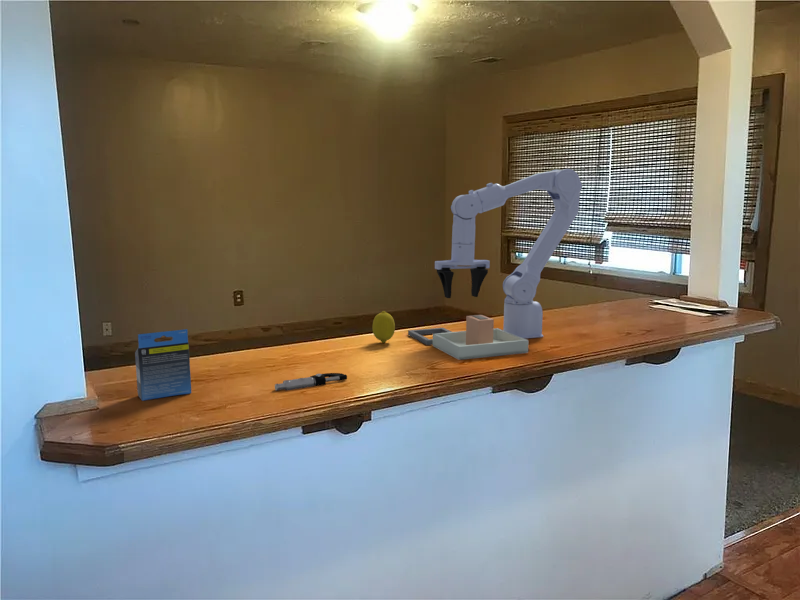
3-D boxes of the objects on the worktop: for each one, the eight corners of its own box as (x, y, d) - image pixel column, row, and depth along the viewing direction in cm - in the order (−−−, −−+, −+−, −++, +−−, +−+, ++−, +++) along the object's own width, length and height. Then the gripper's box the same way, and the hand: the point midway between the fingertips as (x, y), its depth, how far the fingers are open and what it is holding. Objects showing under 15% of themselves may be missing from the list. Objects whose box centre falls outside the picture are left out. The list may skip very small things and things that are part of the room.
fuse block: (480, 343, 161) (481, 314, 160) (492, 348, 156) (493, 318, 155) (465, 344, 160) (466, 315, 159) (477, 350, 154) (478, 320, 153)
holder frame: (442, 332, 176) (443, 327, 176) (463, 341, 165) (463, 337, 165) (408, 334, 172) (408, 330, 172) (427, 345, 161) (427, 340, 161)
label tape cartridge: (187, 388, 126) (183, 324, 124) (191, 394, 123) (188, 328, 121) (137, 395, 122) (133, 329, 120) (141, 401, 118) (136, 334, 116)
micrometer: (336, 374, 138) (336, 362, 137) (350, 383, 132) (350, 370, 131) (266, 384, 131) (265, 372, 130) (277, 394, 124) (277, 381, 124)
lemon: (368, 343, 162) (368, 311, 161) (379, 339, 167) (379, 308, 166) (388, 346, 160) (388, 313, 158) (398, 341, 165) (399, 310, 163)
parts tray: (497, 339, 167) (497, 328, 167) (528, 352, 155) (528, 340, 154) (432, 345, 161) (432, 333, 160) (458, 359, 148) (459, 346, 147)
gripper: (481, 241, 173) (478, 293, 175) (430, 242, 167) (428, 295, 169) (494, 244, 166) (492, 297, 168) (442, 244, 161) (440, 300, 163)
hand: (461, 297), depth 168 cm, fingers open, 7 cm apart
